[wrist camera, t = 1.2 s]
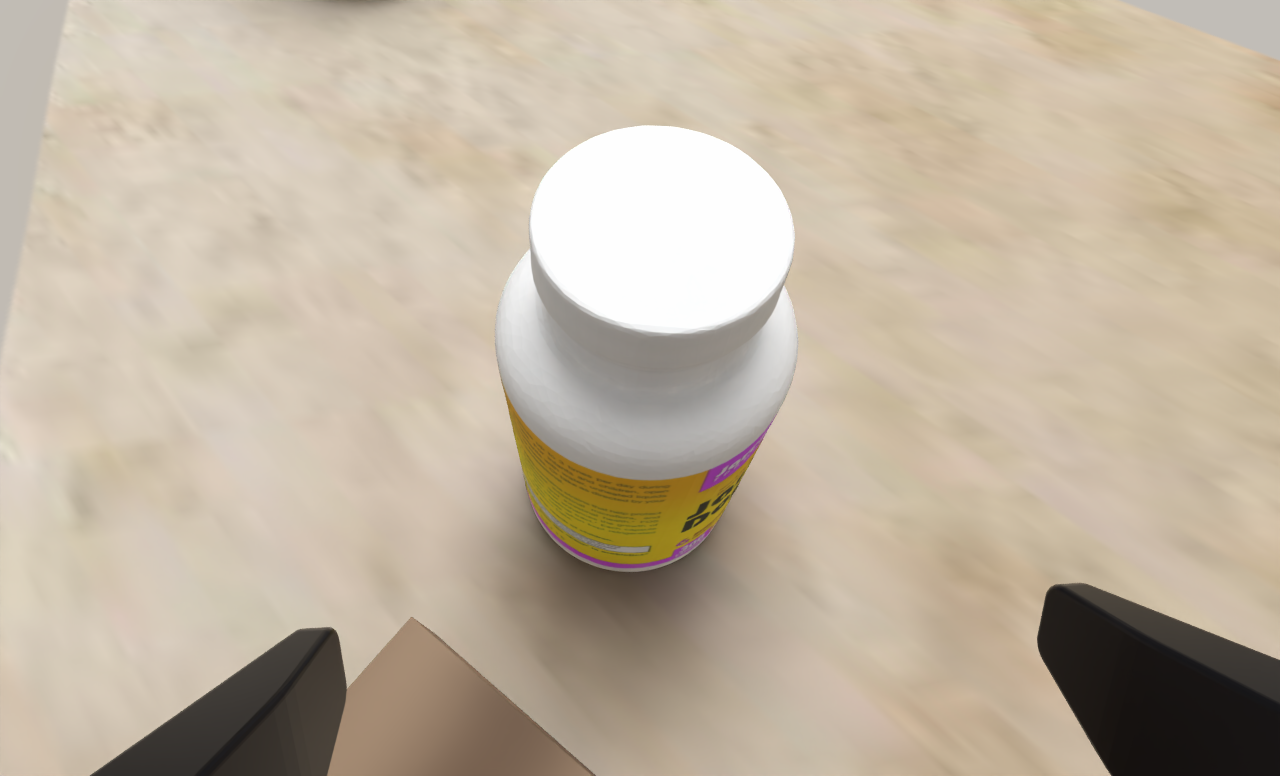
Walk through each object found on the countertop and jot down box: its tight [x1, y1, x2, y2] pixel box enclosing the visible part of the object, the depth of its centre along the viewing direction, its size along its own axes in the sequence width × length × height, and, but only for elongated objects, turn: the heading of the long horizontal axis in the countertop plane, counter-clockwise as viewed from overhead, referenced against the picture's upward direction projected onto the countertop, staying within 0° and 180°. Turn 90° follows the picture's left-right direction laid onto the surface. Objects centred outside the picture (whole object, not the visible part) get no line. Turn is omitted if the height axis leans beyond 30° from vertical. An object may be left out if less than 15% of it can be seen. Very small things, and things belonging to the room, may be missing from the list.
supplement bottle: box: [495, 126, 798, 572], centre depth 18 cm, size 7×7×13 cm
